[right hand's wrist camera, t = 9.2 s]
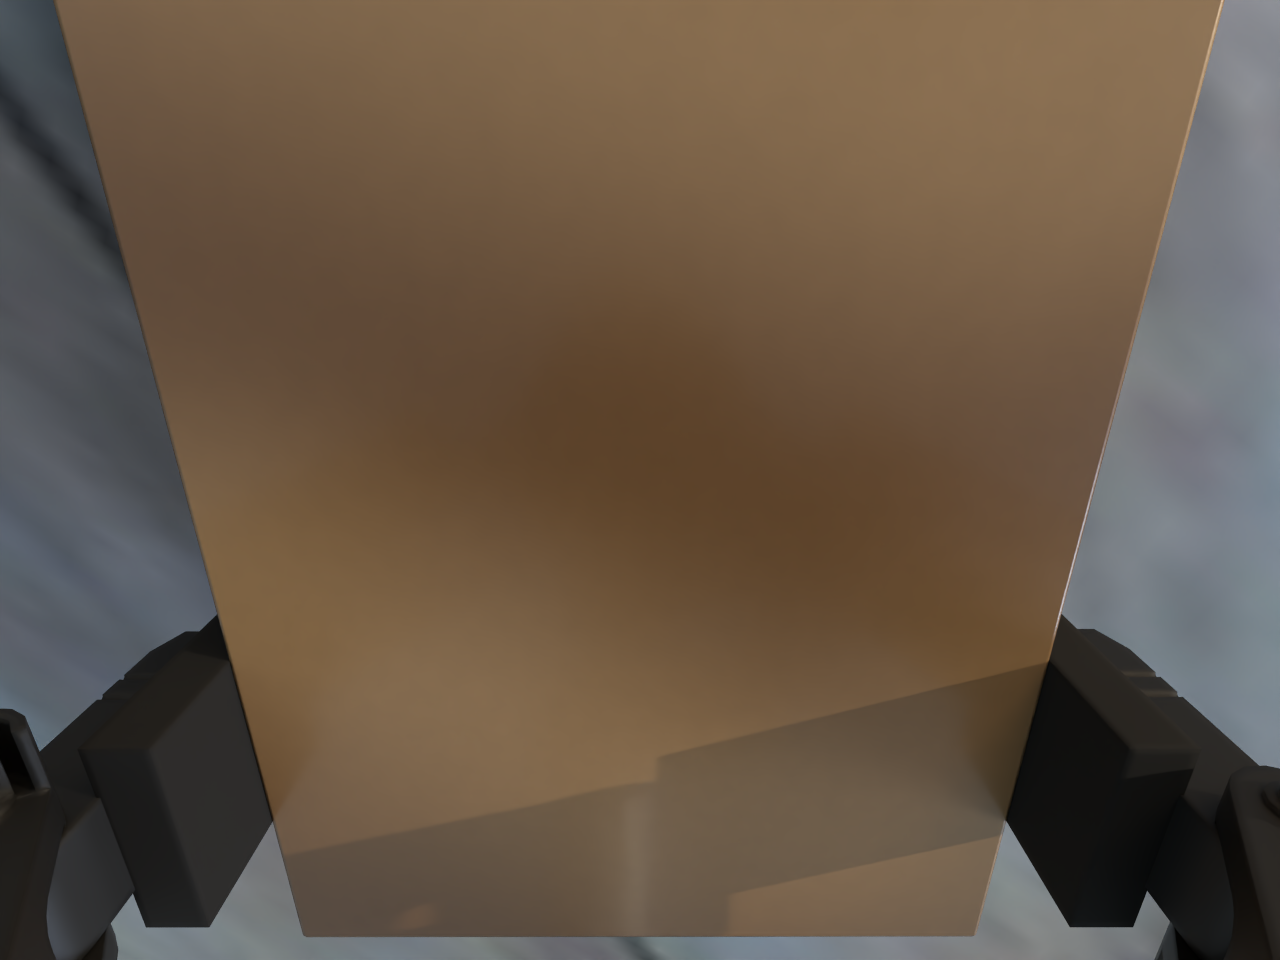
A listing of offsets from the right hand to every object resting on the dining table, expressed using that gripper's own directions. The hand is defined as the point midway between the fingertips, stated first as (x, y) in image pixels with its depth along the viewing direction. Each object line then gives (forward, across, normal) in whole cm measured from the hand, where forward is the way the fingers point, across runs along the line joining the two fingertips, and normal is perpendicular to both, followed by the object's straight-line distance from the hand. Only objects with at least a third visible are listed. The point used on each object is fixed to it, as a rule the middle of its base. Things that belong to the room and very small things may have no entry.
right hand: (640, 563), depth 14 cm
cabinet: (+4, 0, -5) cm, 6 cm away
